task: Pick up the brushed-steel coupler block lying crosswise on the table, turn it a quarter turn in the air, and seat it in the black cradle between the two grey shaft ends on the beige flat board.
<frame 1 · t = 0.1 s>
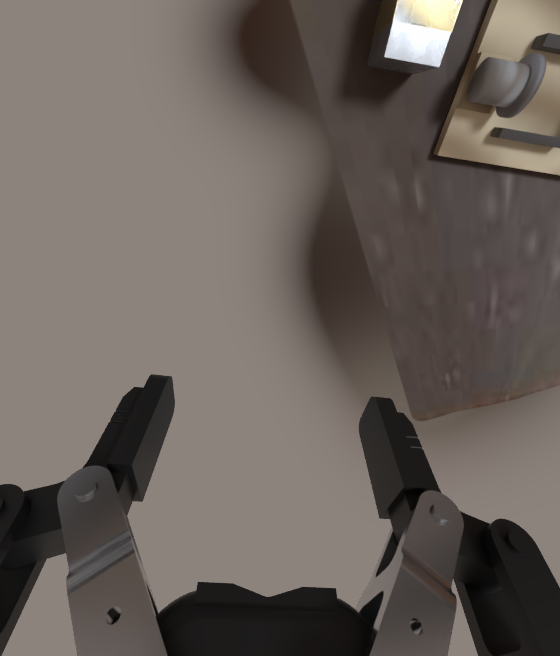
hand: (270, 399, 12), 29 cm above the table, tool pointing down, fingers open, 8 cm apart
coupler: (401, 25, 27), on the table
beige flat board: (537, 96, 29), on the table
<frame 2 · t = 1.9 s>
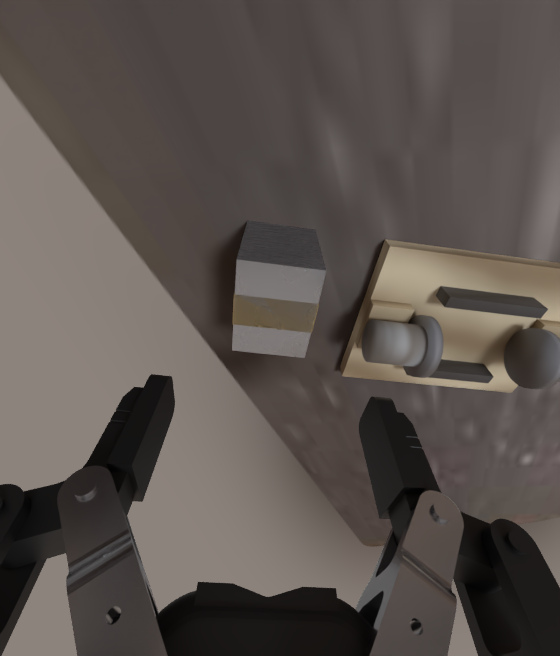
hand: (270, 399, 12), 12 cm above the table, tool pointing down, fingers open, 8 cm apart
coupler: (276, 266, 21), on the table
beige flat board: (454, 323, 24), on the table
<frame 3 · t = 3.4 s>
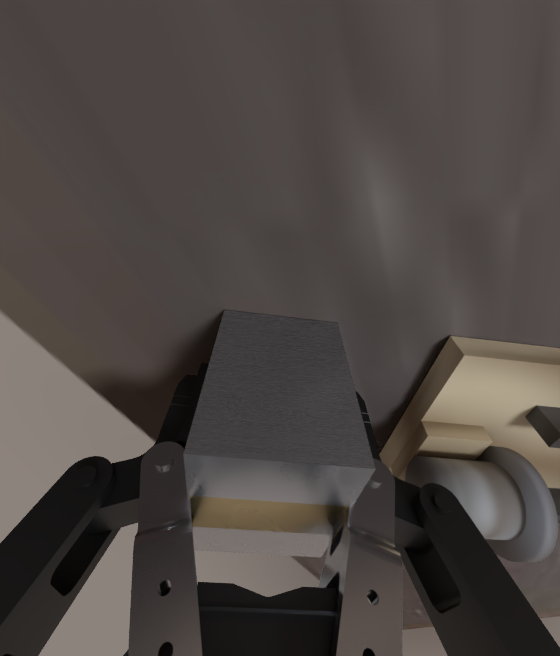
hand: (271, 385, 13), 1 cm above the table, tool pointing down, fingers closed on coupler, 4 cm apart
coupler: (272, 371, 14), on the table, touching gripper
beige flat board: (537, 437, 16), on the table
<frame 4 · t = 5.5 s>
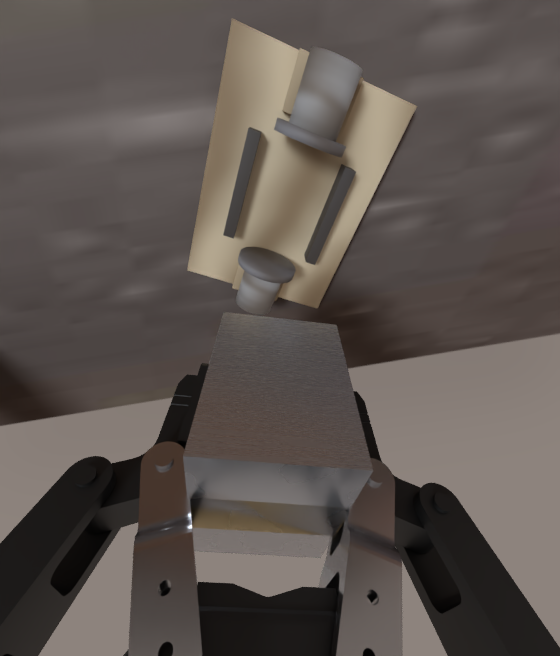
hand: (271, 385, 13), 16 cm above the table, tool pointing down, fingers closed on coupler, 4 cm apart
coupler: (272, 372, 14), point 15 cm above the table, touching gripper
beige flat board: (285, 196, 23), on the table
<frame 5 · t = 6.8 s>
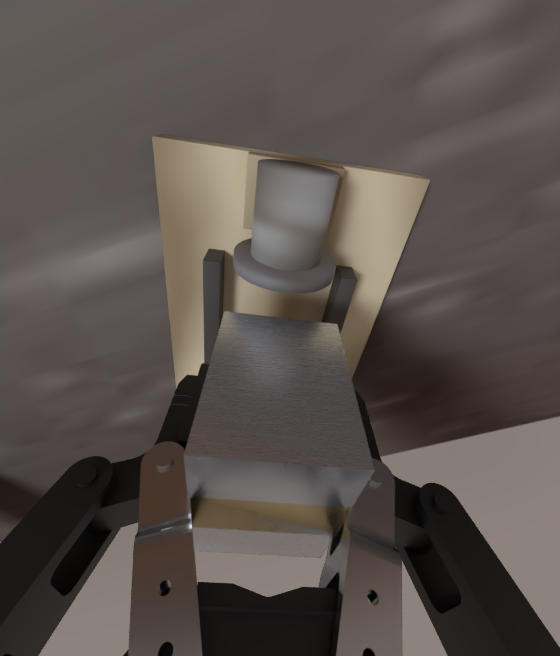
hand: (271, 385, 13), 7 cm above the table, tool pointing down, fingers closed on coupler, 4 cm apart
coupler: (272, 371, 14), point 6 cm above the table, touching gripper
beige flat board: (273, 303, 18), on the table
when the fingers open (4 cm above the table, at t = 7.9 s): coupler drops 2 cm, resting on beige flat board.
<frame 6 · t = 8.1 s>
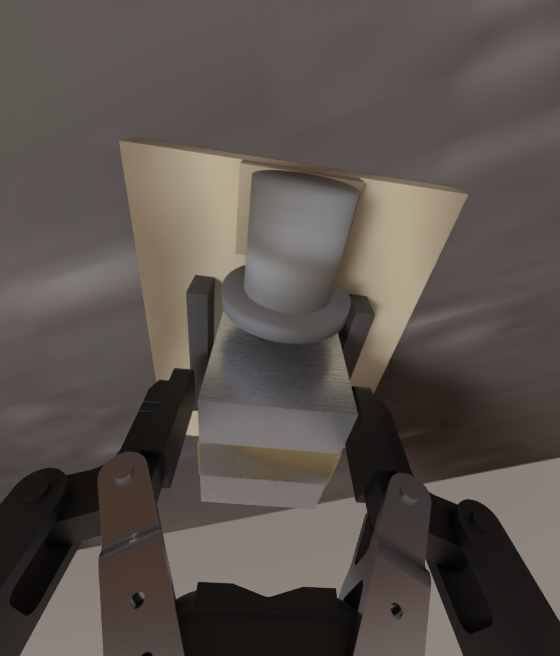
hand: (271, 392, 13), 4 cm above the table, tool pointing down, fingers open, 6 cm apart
coupler: (272, 349, 15), point 1 cm above the table, touching beige flat board
beige flat board: (273, 333, 16), on the table
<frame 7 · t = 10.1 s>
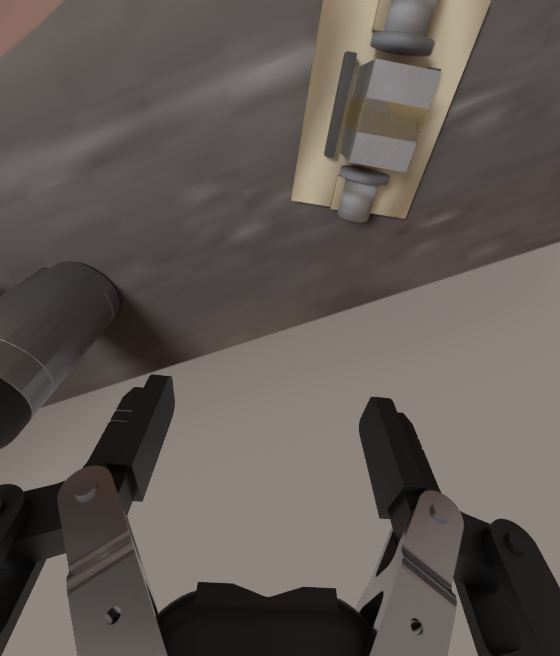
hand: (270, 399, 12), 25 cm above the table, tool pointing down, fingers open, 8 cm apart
coupler: (374, 116, 26), point 1 cm above the table, touching beige flat board
beige flat board: (372, 114, 27), on the table
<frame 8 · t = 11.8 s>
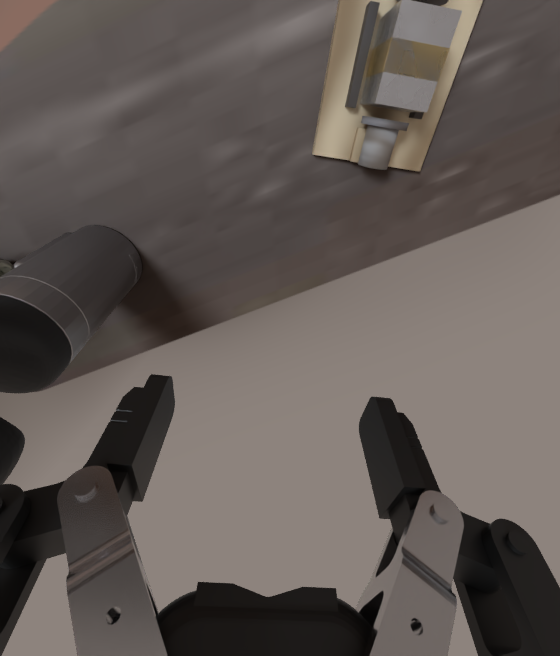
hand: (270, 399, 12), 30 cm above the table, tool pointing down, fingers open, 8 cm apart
coupler: (392, 68, 28), point 1 cm above the table, touching beige flat board
beige flat board: (389, 68, 29), on the table
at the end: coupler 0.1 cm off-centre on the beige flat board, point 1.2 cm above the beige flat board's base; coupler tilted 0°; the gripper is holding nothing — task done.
